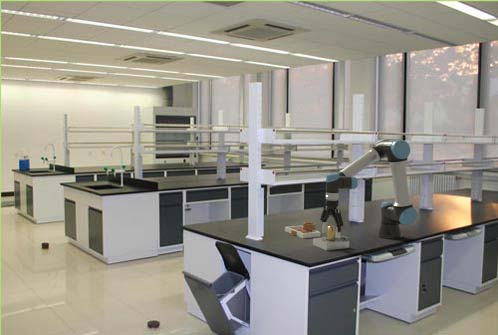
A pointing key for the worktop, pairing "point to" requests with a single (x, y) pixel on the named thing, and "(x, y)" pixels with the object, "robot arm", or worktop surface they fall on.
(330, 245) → the jig
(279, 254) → the worktop surface
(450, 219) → the worktop surface
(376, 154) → the robot arm
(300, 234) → the cradle
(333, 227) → the gold brass cylinder
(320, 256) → the worktop surface
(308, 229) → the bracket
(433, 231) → the worktop surface
